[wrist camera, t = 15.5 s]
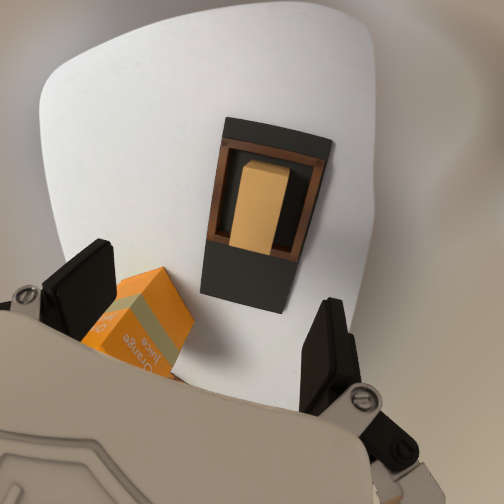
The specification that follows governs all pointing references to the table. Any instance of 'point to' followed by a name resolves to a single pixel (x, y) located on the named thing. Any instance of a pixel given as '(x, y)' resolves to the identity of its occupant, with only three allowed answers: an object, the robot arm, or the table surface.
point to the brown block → (258, 206)
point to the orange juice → (143, 323)
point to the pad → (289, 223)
